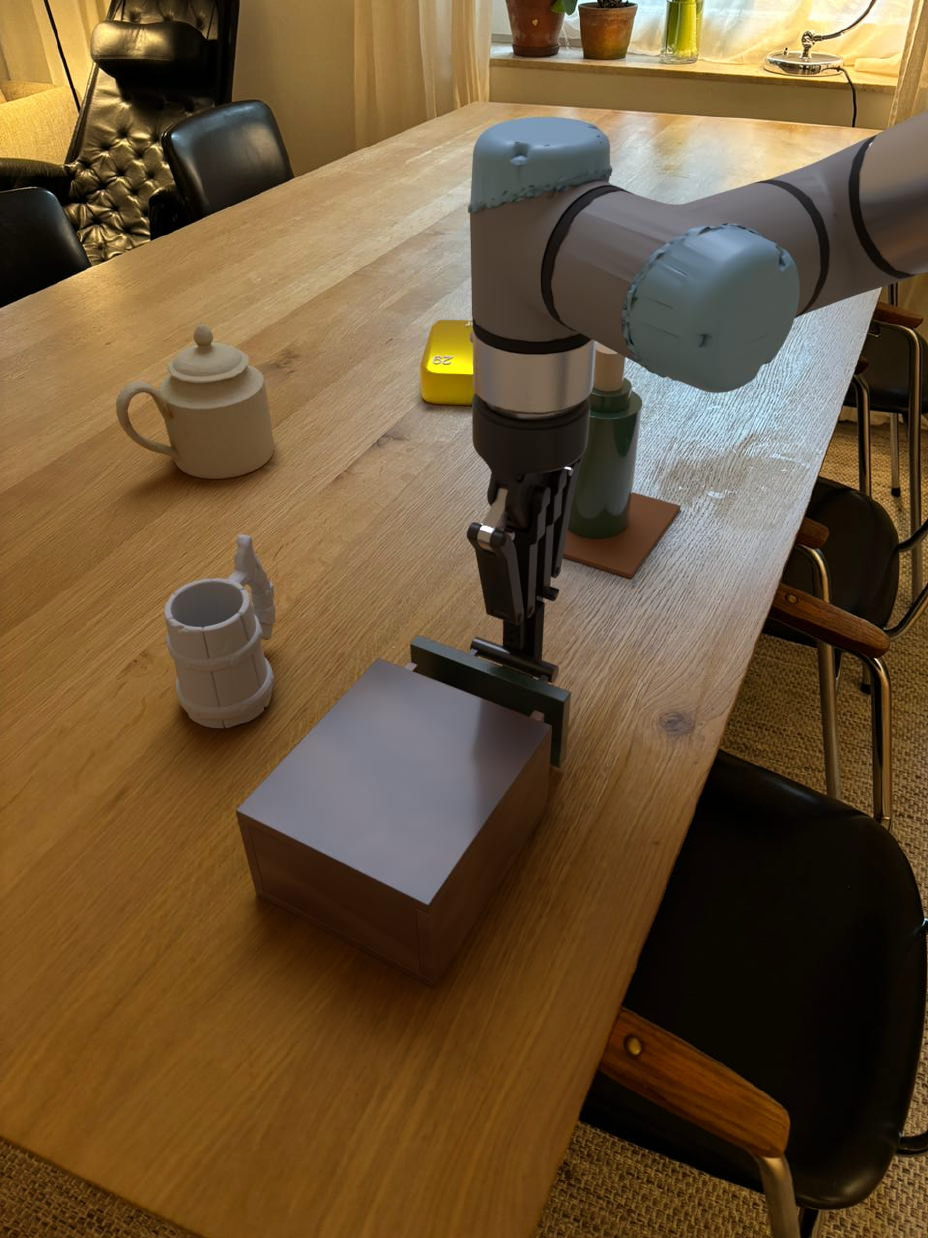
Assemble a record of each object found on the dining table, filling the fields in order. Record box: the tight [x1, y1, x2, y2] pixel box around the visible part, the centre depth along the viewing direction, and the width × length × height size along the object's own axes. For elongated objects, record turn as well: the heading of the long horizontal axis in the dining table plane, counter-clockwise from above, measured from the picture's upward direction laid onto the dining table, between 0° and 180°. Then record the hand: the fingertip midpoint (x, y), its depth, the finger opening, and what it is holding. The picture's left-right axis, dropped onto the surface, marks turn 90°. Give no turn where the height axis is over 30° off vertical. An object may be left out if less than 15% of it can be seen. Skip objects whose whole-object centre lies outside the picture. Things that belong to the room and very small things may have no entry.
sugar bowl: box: [115, 322, 275, 480], centre depth 103 cm, size 15×11×15 cm
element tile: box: [419, 319, 475, 406], centre depth 121 cm, size 15×15×5 cm
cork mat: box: [563, 491, 681, 579], centre depth 98 cm, size 13×13×1 cm
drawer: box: [402, 634, 572, 769], centre depth 70 cm, size 19×13×7 cm
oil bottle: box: [568, 342, 644, 539], centre depth 92 cm, size 7×7×18 cm
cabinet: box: [235, 657, 552, 989], centre depth 66 cm, size 16×14×9 cm
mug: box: [163, 534, 276, 729], centre depth 78 cm, size 8×12×12 cm, turn 159°
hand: (521, 666), depth 78 cm, fingers closed
